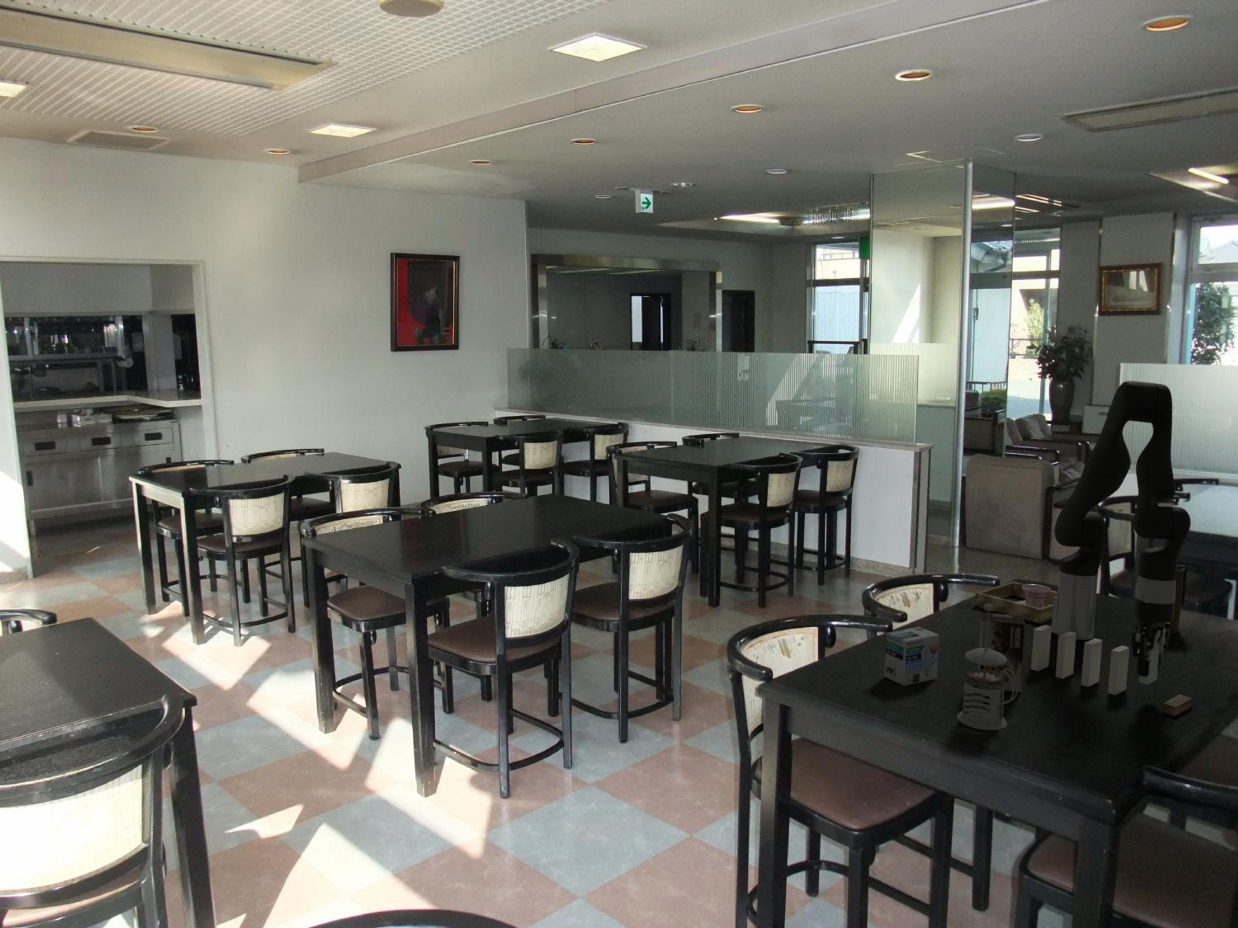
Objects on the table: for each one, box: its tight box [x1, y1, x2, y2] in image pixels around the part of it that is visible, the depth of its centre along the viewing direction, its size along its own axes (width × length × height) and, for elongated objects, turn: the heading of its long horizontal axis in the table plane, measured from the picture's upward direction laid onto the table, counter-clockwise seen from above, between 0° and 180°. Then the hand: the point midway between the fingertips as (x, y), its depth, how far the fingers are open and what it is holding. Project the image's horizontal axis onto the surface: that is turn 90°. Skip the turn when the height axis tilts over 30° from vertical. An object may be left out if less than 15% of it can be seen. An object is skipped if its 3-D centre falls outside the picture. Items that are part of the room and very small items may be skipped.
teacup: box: [1017, 583, 1052, 608], centre depth 269 cm, size 12×12×6 cm
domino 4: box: [1107, 645, 1130, 696], centre depth 208 cm, size 2×5×10 cm, turn 127°
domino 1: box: [1030, 624, 1052, 672], centre depth 222 cm, size 2×5×10 cm, turn 127°
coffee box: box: [977, 611, 1026, 693], centre depth 211 cm, size 9×6×16 cm
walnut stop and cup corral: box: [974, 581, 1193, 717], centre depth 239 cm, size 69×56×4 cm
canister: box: [1134, 563, 1188, 635], centre depth 250 cm, size 11×10×20 cm
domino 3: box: [1080, 638, 1103, 687], centre depth 212 cm, size 2×5×10 cm, turn 128°
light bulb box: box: [884, 626, 940, 686], centre depth 216 cm, size 11×7×11 cm, turn 117°
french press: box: [956, 604, 1019, 731], centre depth 191 cm, size 10×12×25 cm
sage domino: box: [1138, 640, 1160, 685], centre depth 202 cm, size 2×5×10 cm, turn 127°
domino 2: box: [1055, 631, 1077, 680], centre depth 217 cm, size 2×5×10 cm, turn 127°
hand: (1148, 672), depth 203 cm, fingers closed on sage domino, 5 cm apart
